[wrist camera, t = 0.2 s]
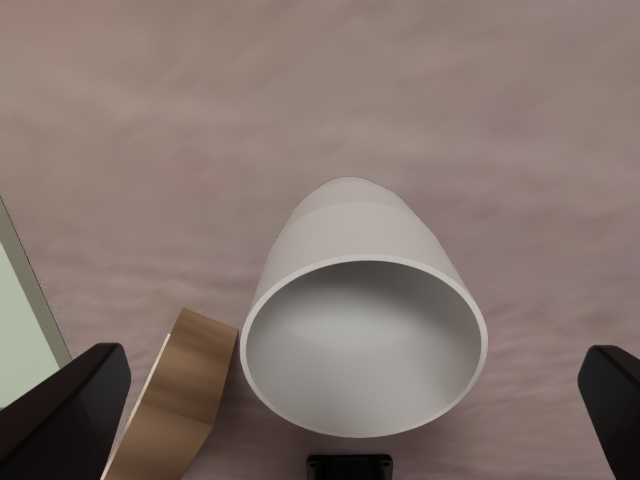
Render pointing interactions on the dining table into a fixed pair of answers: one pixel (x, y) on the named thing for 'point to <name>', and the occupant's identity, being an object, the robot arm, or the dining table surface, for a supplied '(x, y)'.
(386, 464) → the robot arm
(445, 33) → the dining table surface
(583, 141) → the dining table surface
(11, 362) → the ledge board
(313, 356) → the cup
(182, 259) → the dining table surface
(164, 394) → the brown wooden block
